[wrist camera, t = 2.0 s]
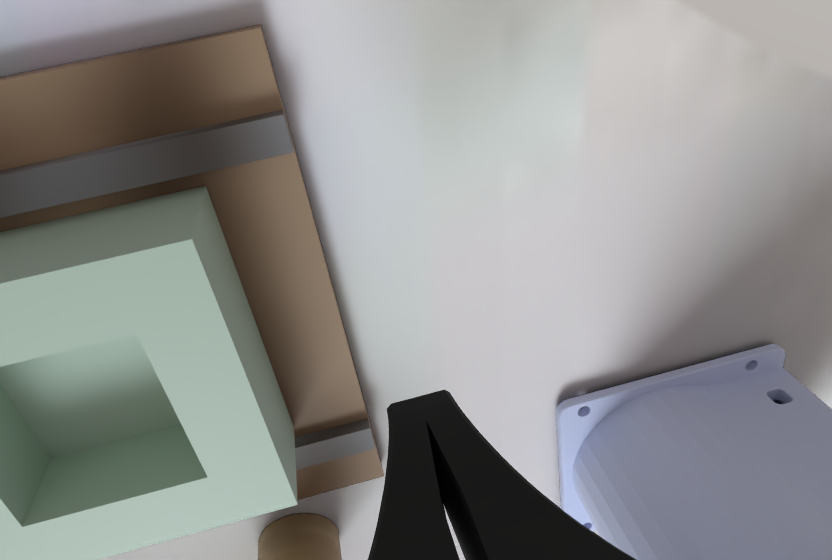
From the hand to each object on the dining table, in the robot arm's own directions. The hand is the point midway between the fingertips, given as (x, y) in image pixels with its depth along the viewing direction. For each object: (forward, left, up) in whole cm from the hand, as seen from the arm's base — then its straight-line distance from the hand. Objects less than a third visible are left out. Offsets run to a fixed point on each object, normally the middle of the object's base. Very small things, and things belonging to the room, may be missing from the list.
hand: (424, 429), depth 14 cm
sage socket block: (+8, 0, -6) cm, 11 cm away
